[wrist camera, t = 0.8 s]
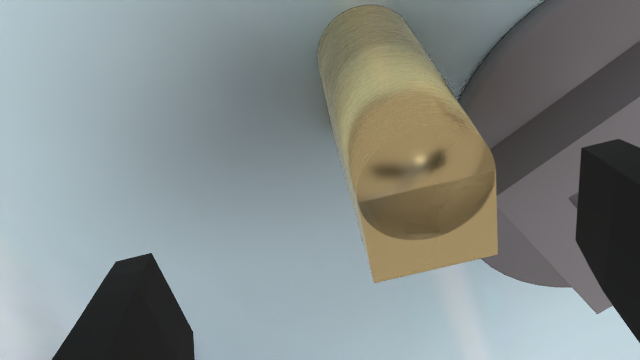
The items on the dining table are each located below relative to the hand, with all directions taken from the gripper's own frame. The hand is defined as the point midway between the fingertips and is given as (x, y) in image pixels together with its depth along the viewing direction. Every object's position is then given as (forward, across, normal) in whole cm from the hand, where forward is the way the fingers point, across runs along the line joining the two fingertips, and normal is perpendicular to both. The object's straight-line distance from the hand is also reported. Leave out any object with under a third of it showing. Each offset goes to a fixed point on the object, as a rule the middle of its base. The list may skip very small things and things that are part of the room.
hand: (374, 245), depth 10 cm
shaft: (+10, -2, +2) cm, 10 cm away
